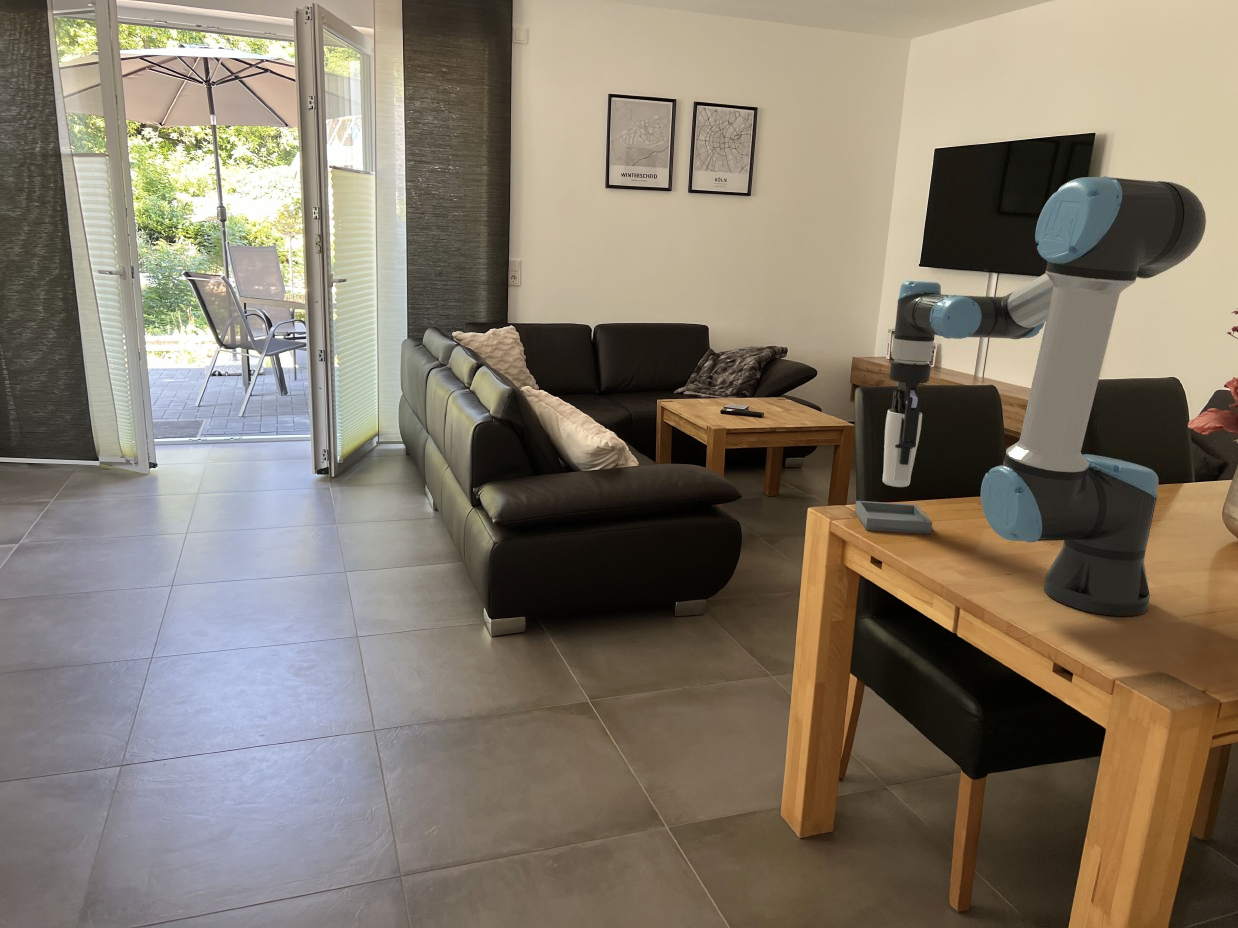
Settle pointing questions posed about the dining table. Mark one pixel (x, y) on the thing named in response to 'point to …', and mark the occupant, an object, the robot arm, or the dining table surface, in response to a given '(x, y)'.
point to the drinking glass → (890, 451)
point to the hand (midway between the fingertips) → (896, 475)
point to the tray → (893, 517)
